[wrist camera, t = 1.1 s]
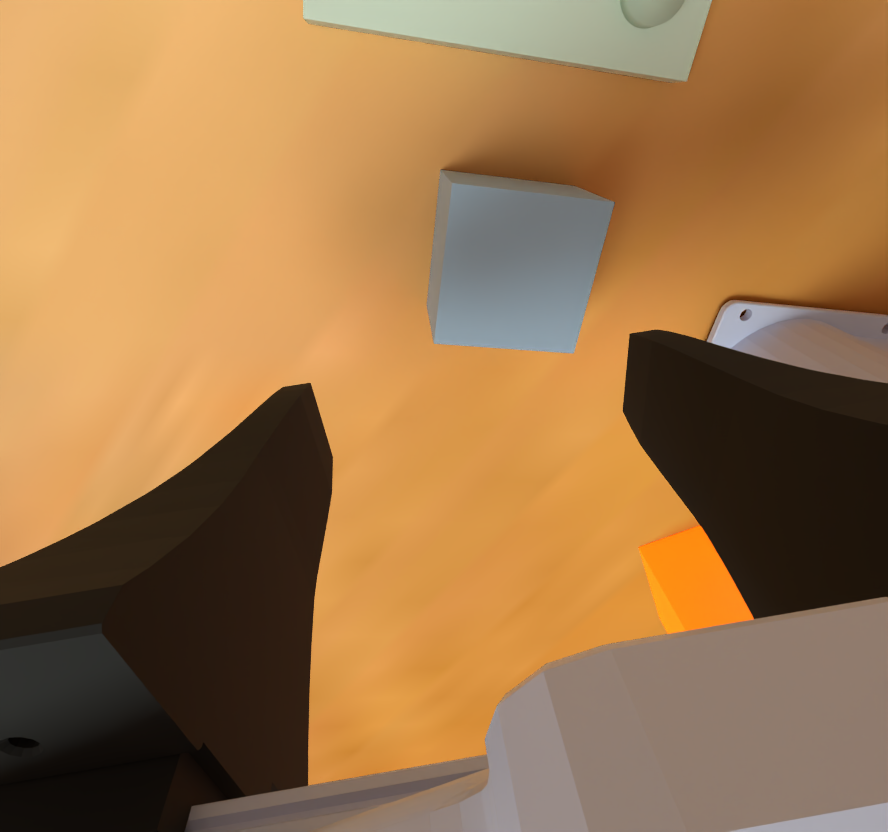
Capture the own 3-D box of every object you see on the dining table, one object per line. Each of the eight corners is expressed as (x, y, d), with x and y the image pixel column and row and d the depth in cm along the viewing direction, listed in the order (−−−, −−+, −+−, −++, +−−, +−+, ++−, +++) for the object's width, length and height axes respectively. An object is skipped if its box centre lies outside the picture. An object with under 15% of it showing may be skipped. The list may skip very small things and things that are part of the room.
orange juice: (792, 574, 32) (1255, 1108, 15) (658, 619, 33) (943, 1160, 16) (788, 491, 28) (1419, 1094, 11) (636, 545, 29) (986, 1165, 12)
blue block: (573, 185, 18) (615, 202, 15) (543, 313, 21) (573, 353, 17) (440, 169, 18) (451, 183, 14) (426, 304, 20) (434, 343, 17)
